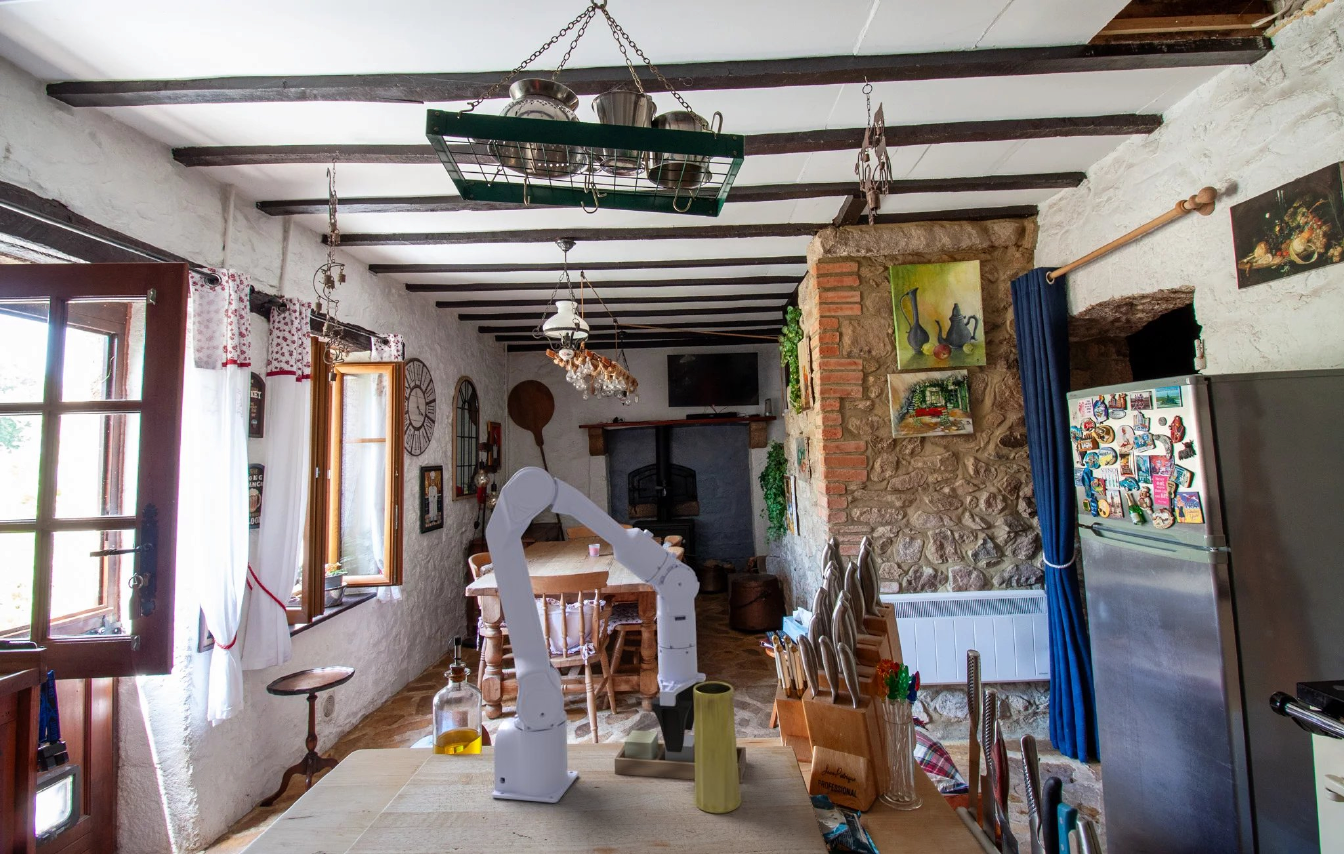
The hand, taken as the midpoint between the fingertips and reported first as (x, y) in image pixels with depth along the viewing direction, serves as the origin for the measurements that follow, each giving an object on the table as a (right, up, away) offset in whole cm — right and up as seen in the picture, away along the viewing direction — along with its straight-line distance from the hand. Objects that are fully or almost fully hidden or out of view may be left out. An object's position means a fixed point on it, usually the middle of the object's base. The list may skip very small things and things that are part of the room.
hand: (680, 739), depth 89 cm
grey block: (0, -4, 0) cm, 4 cm away
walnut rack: (0, -4, 0) cm, 4 cm away
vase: (+5, -3, -10) cm, 12 cm away
